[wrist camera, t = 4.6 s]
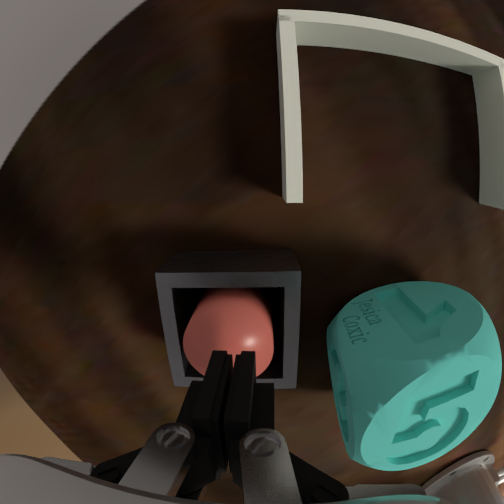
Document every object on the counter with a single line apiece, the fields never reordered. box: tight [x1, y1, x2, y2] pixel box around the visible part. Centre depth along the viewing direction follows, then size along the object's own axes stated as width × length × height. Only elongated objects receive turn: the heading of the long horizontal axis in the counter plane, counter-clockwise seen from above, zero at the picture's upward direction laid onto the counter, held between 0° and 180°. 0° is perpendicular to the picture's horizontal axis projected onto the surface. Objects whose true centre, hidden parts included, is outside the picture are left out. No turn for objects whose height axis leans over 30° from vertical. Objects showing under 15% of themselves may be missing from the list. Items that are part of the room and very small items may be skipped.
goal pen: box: [276, 9, 504, 209], centre depth 13 cm, size 14×9×3 cm
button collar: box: [155, 249, 301, 389], centre depth 16 cm, size 6×6×4 cm
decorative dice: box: [327, 281, 502, 471], centre depth 14 cm, size 8×8×8 cm
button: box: [183, 287, 274, 377], centre depth 15 cm, size 4×4×4 cm
